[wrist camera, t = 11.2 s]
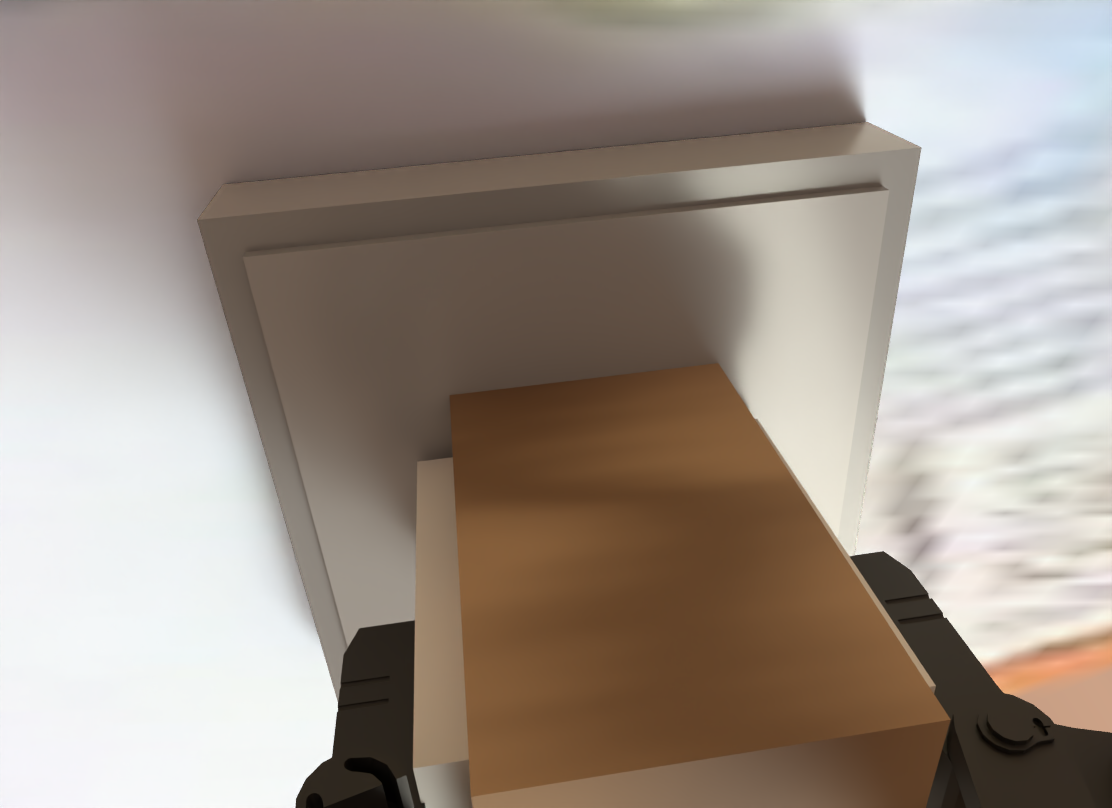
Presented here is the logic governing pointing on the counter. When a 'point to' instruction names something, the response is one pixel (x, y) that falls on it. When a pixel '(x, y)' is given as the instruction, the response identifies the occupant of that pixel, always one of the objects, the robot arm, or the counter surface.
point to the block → (667, 612)
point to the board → (551, 316)
